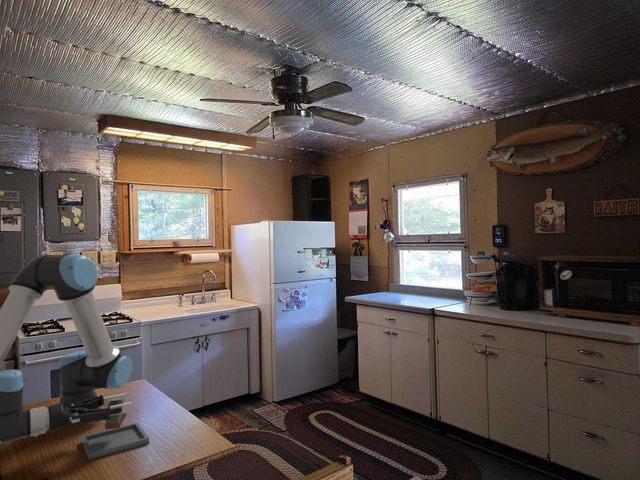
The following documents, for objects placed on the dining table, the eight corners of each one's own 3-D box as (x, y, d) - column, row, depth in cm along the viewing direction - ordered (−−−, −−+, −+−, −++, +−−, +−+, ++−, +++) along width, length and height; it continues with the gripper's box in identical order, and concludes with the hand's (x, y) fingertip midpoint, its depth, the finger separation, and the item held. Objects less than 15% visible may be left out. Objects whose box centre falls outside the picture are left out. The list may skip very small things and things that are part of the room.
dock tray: (81, 442, 139) (81, 436, 139) (137, 428, 149) (137, 422, 149) (89, 461, 127) (89, 454, 127) (149, 444, 137) (149, 437, 137)
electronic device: (126, 416, 144) (126, 394, 144) (119, 428, 134) (119, 404, 134) (112, 418, 143) (111, 395, 143) (104, 430, 133) (104, 406, 133)
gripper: (44, 420, 136) (121, 403, 149) (50, 445, 118) (137, 424, 132) (44, 396, 136) (121, 382, 149) (50, 418, 118) (136, 399, 132)
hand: (128, 401), depth 141 cm, fingers closed on electronic device, 9 cm apart
